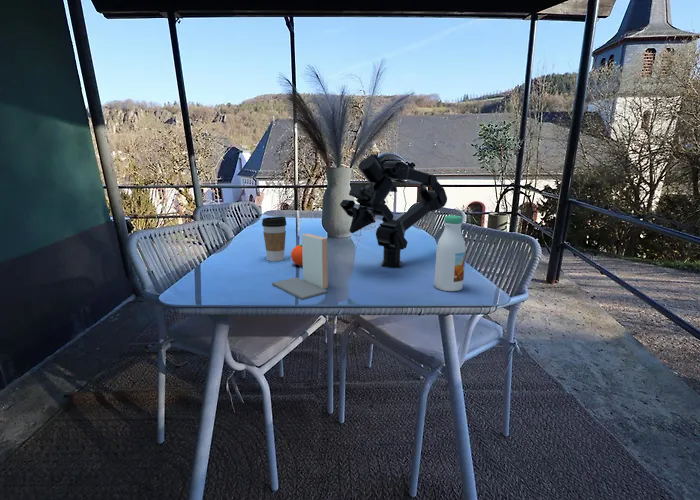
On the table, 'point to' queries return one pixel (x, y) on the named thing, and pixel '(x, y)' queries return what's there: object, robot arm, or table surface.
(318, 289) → the mat
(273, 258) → the coffee cup
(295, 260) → the clementine
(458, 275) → the milk bottle
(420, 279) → the table surface
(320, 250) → the tile
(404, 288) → the table surface
